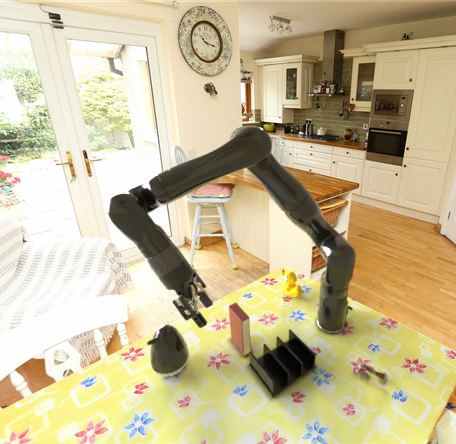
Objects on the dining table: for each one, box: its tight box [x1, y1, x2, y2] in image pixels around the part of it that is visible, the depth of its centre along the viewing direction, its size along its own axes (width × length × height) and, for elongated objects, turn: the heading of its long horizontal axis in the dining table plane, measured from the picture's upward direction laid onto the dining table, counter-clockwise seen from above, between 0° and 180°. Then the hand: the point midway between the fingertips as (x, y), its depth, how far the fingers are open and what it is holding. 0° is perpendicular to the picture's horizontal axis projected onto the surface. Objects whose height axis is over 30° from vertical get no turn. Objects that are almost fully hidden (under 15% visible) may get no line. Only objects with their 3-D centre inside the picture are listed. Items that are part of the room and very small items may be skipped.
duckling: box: [281, 269, 303, 299], centre depth 114 cm, size 11×5×10 cm, turn 39°
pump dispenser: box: [146, 323, 190, 378], centre depth 81 cm, size 10×10×15 cm
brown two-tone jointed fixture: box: [355, 362, 388, 383], centre depth 82 cm, size 2×8×4 cm, turn 81°
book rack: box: [248, 329, 317, 398], centre depth 84 cm, size 16×12×6 cm
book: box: [228, 302, 252, 357], centre depth 89 cm, size 3×8×14 cm, turn 37°
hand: (207, 315), depth 74 cm, fingers open, 8 cm apart
